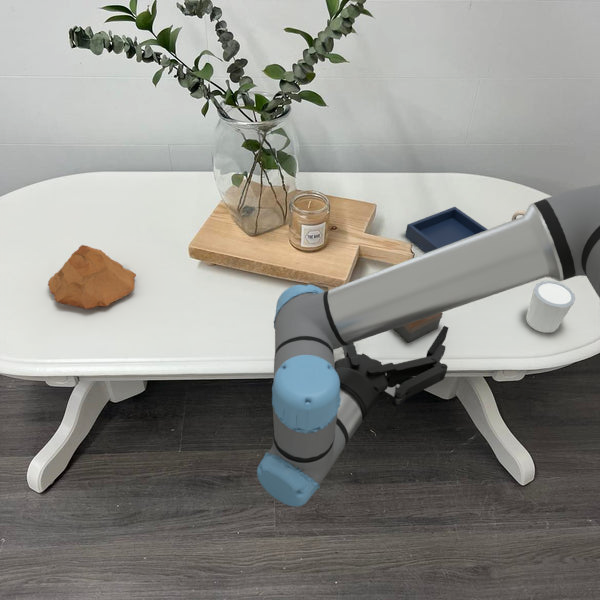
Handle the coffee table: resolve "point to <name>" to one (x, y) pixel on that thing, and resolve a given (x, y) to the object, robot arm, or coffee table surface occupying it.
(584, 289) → the coffee table surface
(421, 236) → the tray
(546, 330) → the white short cylinder
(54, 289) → the stone
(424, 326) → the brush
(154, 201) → the coffee table surface
